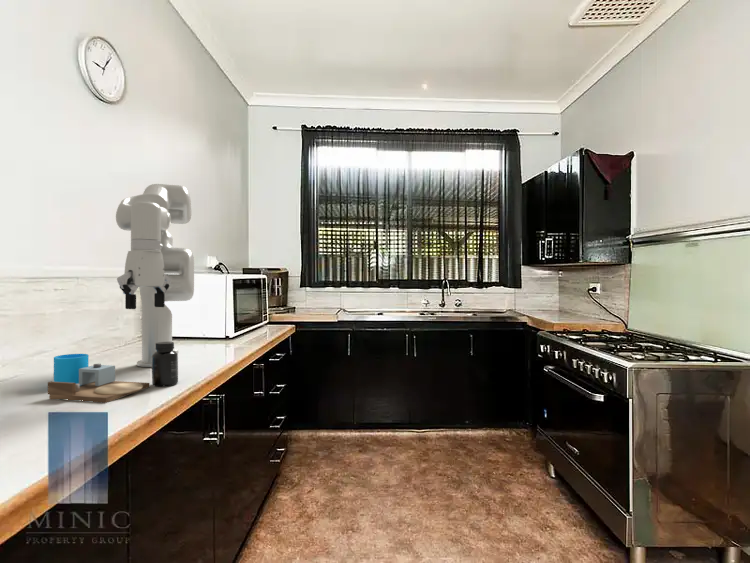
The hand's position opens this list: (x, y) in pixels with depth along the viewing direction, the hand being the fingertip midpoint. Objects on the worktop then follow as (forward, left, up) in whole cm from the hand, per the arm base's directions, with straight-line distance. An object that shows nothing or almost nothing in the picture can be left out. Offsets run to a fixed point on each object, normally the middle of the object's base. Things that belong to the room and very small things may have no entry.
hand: (145, 308), depth 126 cm
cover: (+4, -11, -21) cm, 24 cm away
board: (+8, -6, -22) cm, 24 cm away
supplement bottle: (-4, +4, -22) cm, 23 cm away
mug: (0, -22, -22) cm, 32 cm away
